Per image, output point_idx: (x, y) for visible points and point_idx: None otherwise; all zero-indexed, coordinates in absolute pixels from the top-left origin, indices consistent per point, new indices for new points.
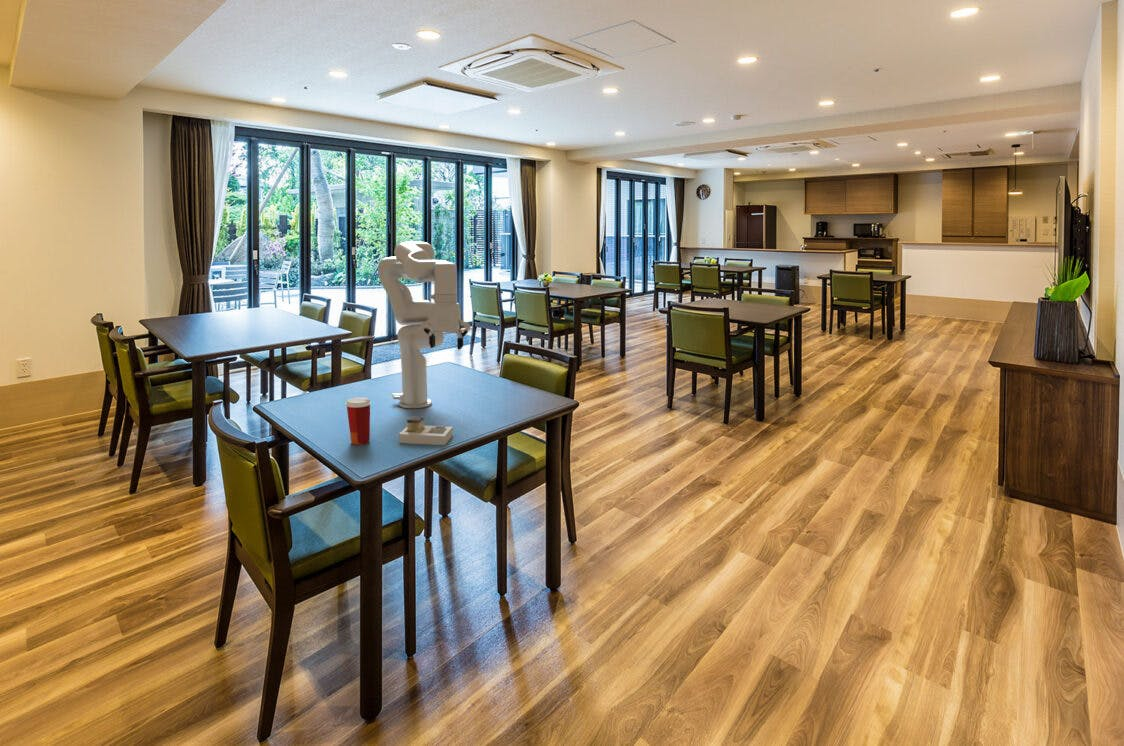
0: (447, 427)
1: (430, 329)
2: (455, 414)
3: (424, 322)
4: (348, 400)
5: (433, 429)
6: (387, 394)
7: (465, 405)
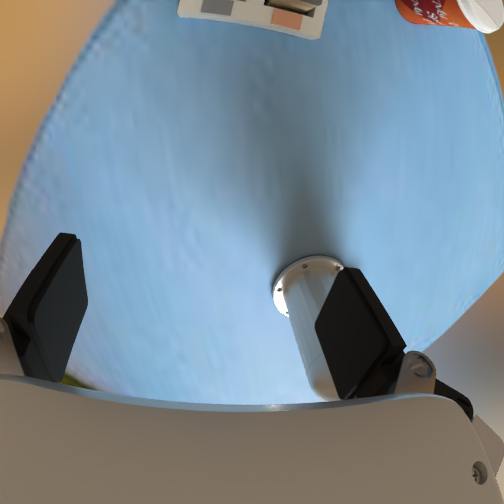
0: (193, 5)
1: (459, 407)
2: (197, 213)
3: (493, 470)
4: (502, 9)
5: (239, 1)
6: None
7: (185, 288)
